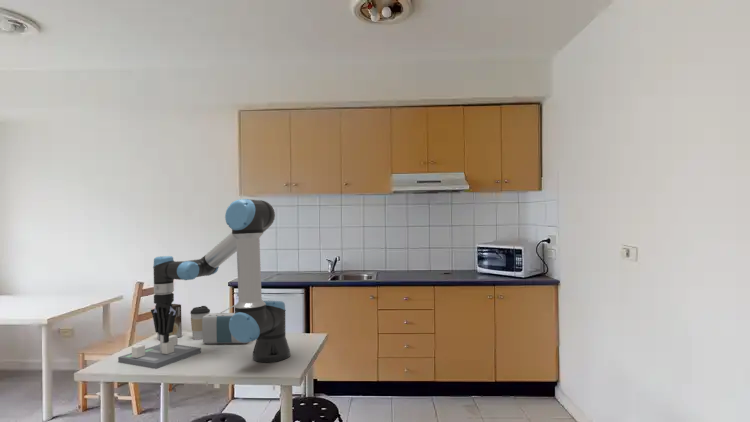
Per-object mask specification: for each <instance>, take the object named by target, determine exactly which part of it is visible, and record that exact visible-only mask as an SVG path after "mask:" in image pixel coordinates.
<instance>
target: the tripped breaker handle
mask: <svg viewBox="0 0 750 422" xmlns="http://www.w3.org/2000/svg"><path fill="white" fill-rule="evenodd" d="M172 352H174V342H171V341H169V342H166V343H162V353H163V354H169V353H172Z"/></svg>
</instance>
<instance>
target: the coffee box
mask: <svg viewBox="0 0 750 422" xmlns="http://www.w3.org/2000/svg"><path fill="white" fill-rule="evenodd" d="M172 306H173V309H174V310H177V314H176V316H175V322H174V328H173V332H172V333H169V336H171V335H176V336H177V339H178V338H182V337H183V334H182V332H183V331H182V329H183V328H182V304H179V303H172ZM156 337H157V339H156V340H159V341H160V337H159V333H158V332H157V335H156Z"/></svg>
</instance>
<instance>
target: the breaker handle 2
mask: <svg viewBox="0 0 750 422" xmlns="http://www.w3.org/2000/svg"><path fill="white" fill-rule="evenodd" d="M169 341H171V342H174V346H175V345H179V344H178V338H177V336H176V335H171V336H169Z"/></svg>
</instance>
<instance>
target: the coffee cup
mask: <svg viewBox="0 0 750 422" xmlns="http://www.w3.org/2000/svg"><path fill="white" fill-rule="evenodd" d="M209 313H211V309H210V308H208V306H207V305H201V306H196V307H192V309H191V310H190V312H189V314H190V323H191V325H190V326H191V331H192V334H191V335H192V339H193V340H198V341H199V340H201V341H202V340H203V338H202V318H203V316H205V315H207V314H209Z"/></svg>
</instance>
